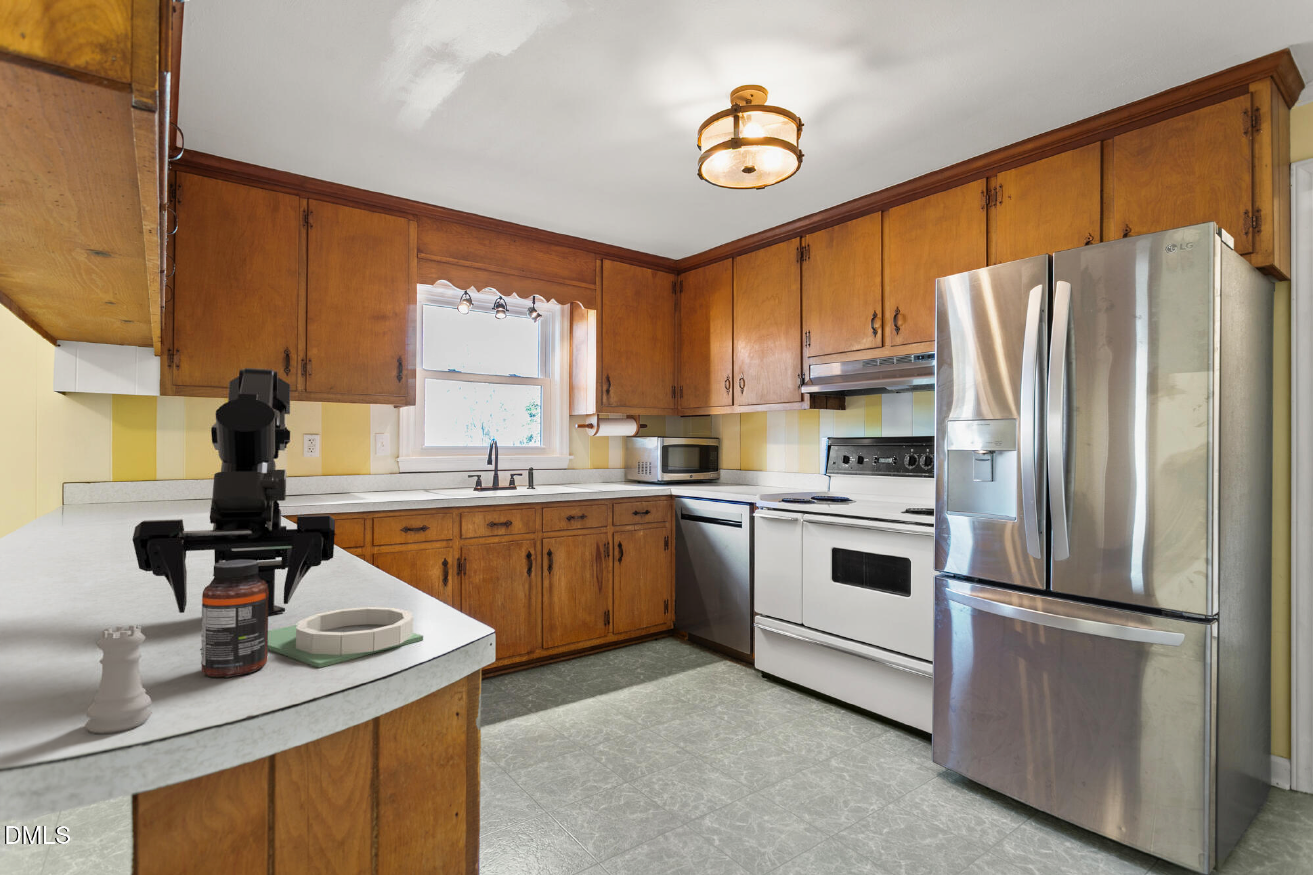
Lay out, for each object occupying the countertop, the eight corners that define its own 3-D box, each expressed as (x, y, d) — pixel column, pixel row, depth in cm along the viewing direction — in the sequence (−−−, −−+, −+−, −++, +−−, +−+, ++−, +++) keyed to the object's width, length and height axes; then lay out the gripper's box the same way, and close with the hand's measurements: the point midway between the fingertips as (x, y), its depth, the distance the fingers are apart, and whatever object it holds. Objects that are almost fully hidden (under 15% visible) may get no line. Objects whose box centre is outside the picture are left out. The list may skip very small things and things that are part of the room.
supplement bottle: (233, 658, 74) (236, 556, 74) (280, 663, 72) (282, 558, 73) (185, 676, 68) (188, 565, 68) (235, 681, 67) (238, 568, 67)
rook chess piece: (114, 738, 54) (117, 638, 54) (69, 732, 55) (72, 634, 55) (165, 716, 58) (168, 624, 58) (123, 711, 59) (126, 620, 59)
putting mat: (243, 640, 81) (243, 635, 81) (345, 618, 91) (345, 614, 91) (319, 667, 71) (319, 663, 71) (423, 639, 82) (423, 635, 82)
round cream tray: (275, 641, 79) (275, 622, 79) (372, 619, 89) (373, 602, 89) (334, 661, 72) (334, 641, 72) (432, 635, 82) (433, 617, 82)
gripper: (139, 444, 70) (108, 566, 60) (336, 446, 79) (337, 553, 69) (152, 512, 77) (126, 632, 67) (332, 507, 85) (333, 613, 75)
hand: (235, 606), depth 69 cm, fingers open, 9 cm apart
